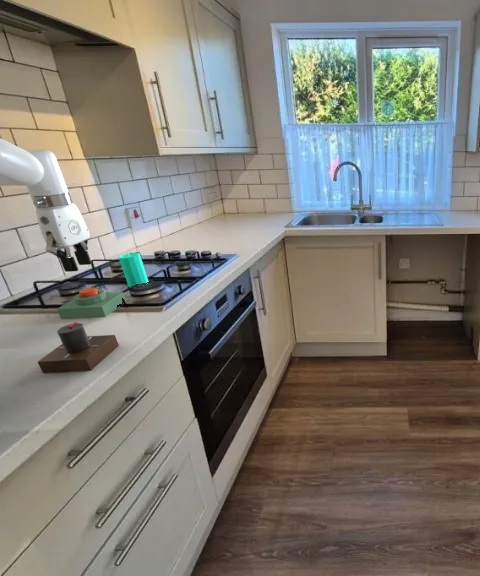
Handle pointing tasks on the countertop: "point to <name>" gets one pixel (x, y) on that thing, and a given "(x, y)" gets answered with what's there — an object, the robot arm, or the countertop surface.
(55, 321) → the countertop surface
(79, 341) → the dial
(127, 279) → the candle
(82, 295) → the orange push button
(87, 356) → the brown dial base
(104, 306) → the green button box
